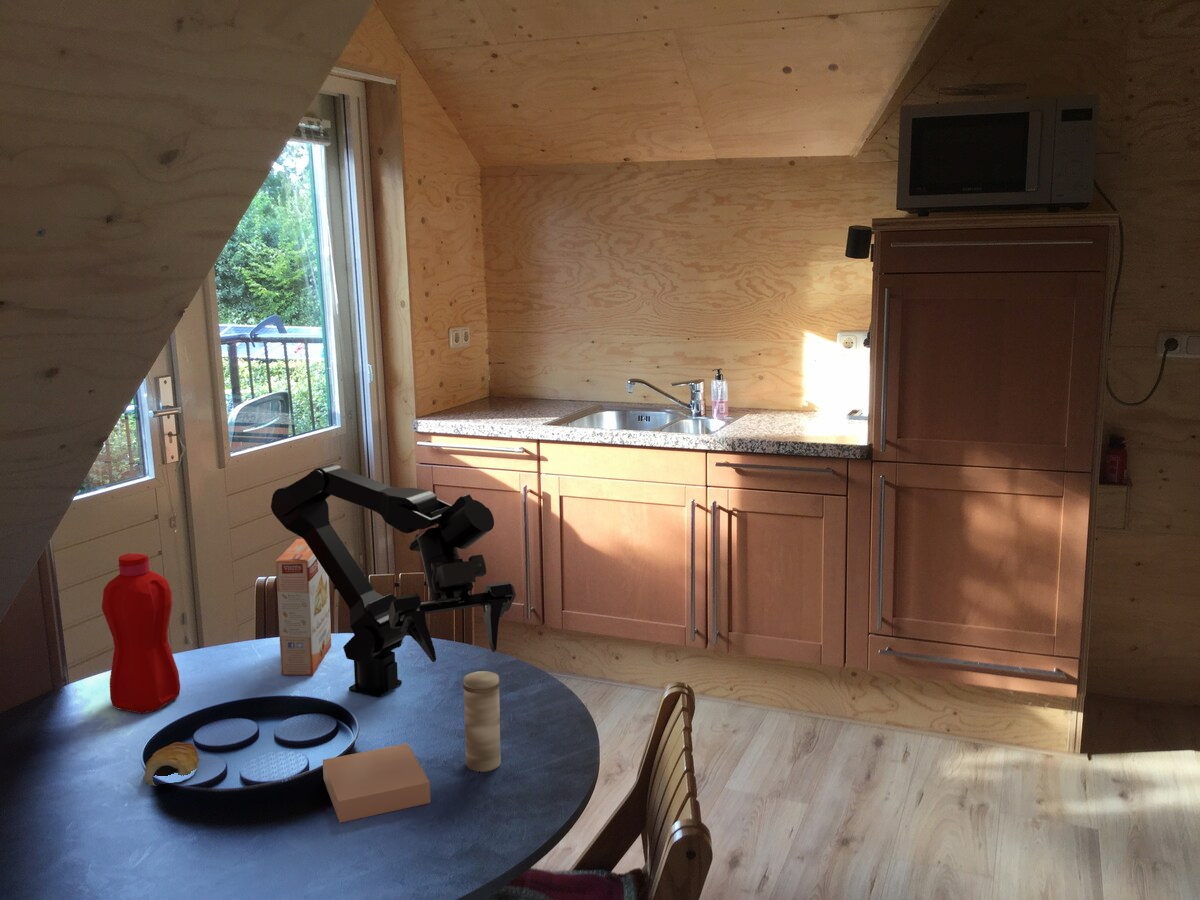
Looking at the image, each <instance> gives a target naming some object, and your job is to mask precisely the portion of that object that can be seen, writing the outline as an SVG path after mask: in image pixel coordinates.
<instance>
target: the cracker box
mask: <svg viewBox="0 0 1200 900" xmlns="http://www.w3.org/2000/svg"><path fill="white" fill-rule="evenodd" d="M275 572H276V573H275V574H276V575H275V576H276V589H277V590H276V591H277V612H278V613H277V614H278V631H279V633H278V635H279V649H280V650H279V651H280V652H279V653H280V671H281V673H280V674H281V676H313V675H314V674H315V673H316V671H317V669H318V667H319V666H320V664H321V663H322V661H323V659H324V658H325V656H326V655H327V653H328V651H329V650H330V648H331V647H332V632H331V627H332V625H331V606H330V605H331V603H330V599H331V598H330V582H329V581H330V578H329V576H328V575H327V573H326V572H325V570H324V569H323V567H322V566H321V564H320V563H319V561H318V560H317V558H316V557H315V555H314V554H313V552H312V551H311V549H310V548H309V546H308V545H307V543H306V542H305V540H304V539H303V538H296V539H295V540H294V541H293V543H292V544H291V545H289V547H287V549H286V550H285V551H284V552H283V553H282V554H281V555H280V556H279V557H278V558H277V559H276V560H275Z"/></svg>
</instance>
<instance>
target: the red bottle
mask: <svg viewBox="0 0 1200 900" xmlns="http://www.w3.org/2000/svg"><path fill="white" fill-rule="evenodd" d="M150 568H151V567H150V559H149V555H148V554H145V553H144V554H143V553H129V552H128V553H124V554H122V555H120V556H119V557H118V569H119V571H118V572H119V574H118V575H116V576H115V577H114V578H112V579H111V580H110V581H108V582H107V584H106V585H105V586H104V588H103V591H102V602H101V610H102V612H103V615H104V619H105V620H106V623H107V626H108V628H109V631H110V633H111V636H112V641H113V646H114V650H113V656H112V662H111V669H110V676H109V699H110V701H111V704H112V706H113V707H114V708H116V709H117V710H123V711H129V712H134V713H139V714H146V713H150V712H151V713H152V712H155V711H157V710H158V709H161V708H162V707H164V706H165V705H167V704H168V703H171V702H173V701H174V700H176V699H177V698H178V697H179V696H180V693H181V692H180V691H181V681H180V674H179V670H178V667H177V664H176V661H175V657H174V655H173V653H172V652H173V651H172V650H171V649H172V648H171V646H170V642H169V631H168V629H169V625H170V620H171V619H170V618H171V613H172V607H173V597H172V596H173V593H172V590H171V587H170V585H169V582H168V579H166V578H165V577H164V576H162V575H161V574H159V573H157V572H154V571H152V570H150Z"/></svg>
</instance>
